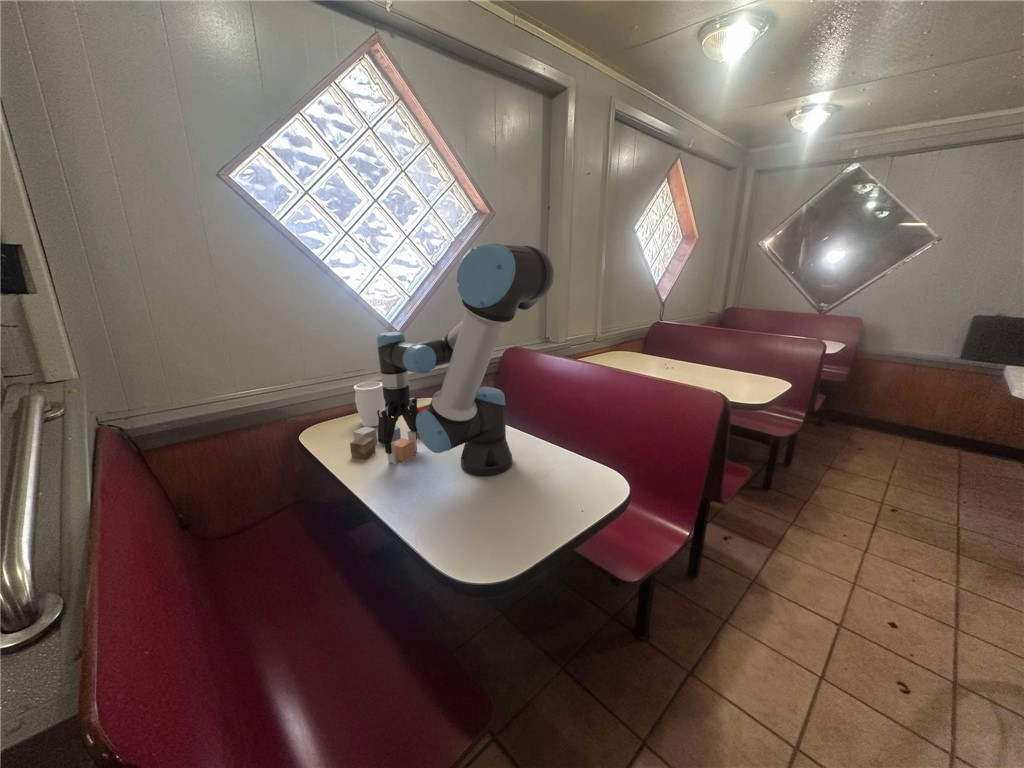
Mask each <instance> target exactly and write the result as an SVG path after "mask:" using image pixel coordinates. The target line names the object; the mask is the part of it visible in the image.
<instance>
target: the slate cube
mask: <svg viewBox="0 0 1024 768" xmlns="http://www.w3.org/2000/svg"><path fill="white" fill-rule="evenodd" d="M401 438H402V435H401V428H400V427H398V426H397V425H395V430H394V434H393V439H392V442H395V441H397V440H399V439H401Z"/></svg>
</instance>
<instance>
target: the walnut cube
mask: <svg viewBox="0 0 1024 768" xmlns="http://www.w3.org/2000/svg"><path fill="white" fill-rule="evenodd" d="M349 447H350V453H351V454H350V455H351V458H352V459H357V460H358V459H359V460H365V461H366V460H367V459H368V458H370V457H371V456H373V455H375V454H376V446H375V444H374V438H368V437H359V438H357V439H355V440H352V441H351V442H349Z"/></svg>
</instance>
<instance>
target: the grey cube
mask: <svg viewBox="0 0 1024 768" xmlns="http://www.w3.org/2000/svg"><path fill="white" fill-rule="evenodd" d="M352 433H353V439H354V440H355V439H357V438H359V437H368V438H374V445H375V444H378V433H377V429H376V428H373V427H366V426H363V427H360V428H358V429H356V430H353V432H352ZM354 440H353V441H354Z"/></svg>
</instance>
